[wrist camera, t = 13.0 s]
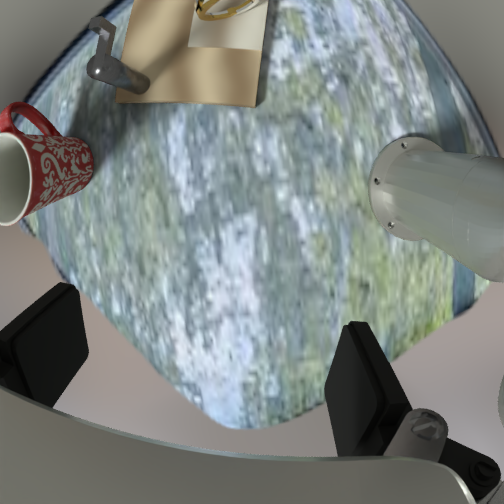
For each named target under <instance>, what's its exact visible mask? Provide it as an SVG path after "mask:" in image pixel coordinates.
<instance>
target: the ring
mask: <svg viewBox="0 0 504 504" xmlns="http://www.w3.org/2000/svg"><path fill="white" fill-rule="evenodd" d="M219 1H220V0H209V1H207V2H206V3H204V4H203V2H204V0H195V4H194V8H195V11H196V13H197V15H198V17H199V19H201V20H204V21H215V20H221V19H225V18H229V17H230V18H232V17H235V16H237V15H238V14H240V13H243V12H245V11H247V10H248V9H250V8H252V7H253V6H255V5H256V4H257V3H258V2H259V1H260V0H247V1H246V2H244V3H243V4H241V5H239V6H237V7H235V8H234V7H231V8H228V9H227V10H226V11H222V12H216V13H208V12H207V10H208V9H210V8H211V7H212V6H213V5H215V4H216V3H217V2H219Z"/></svg>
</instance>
